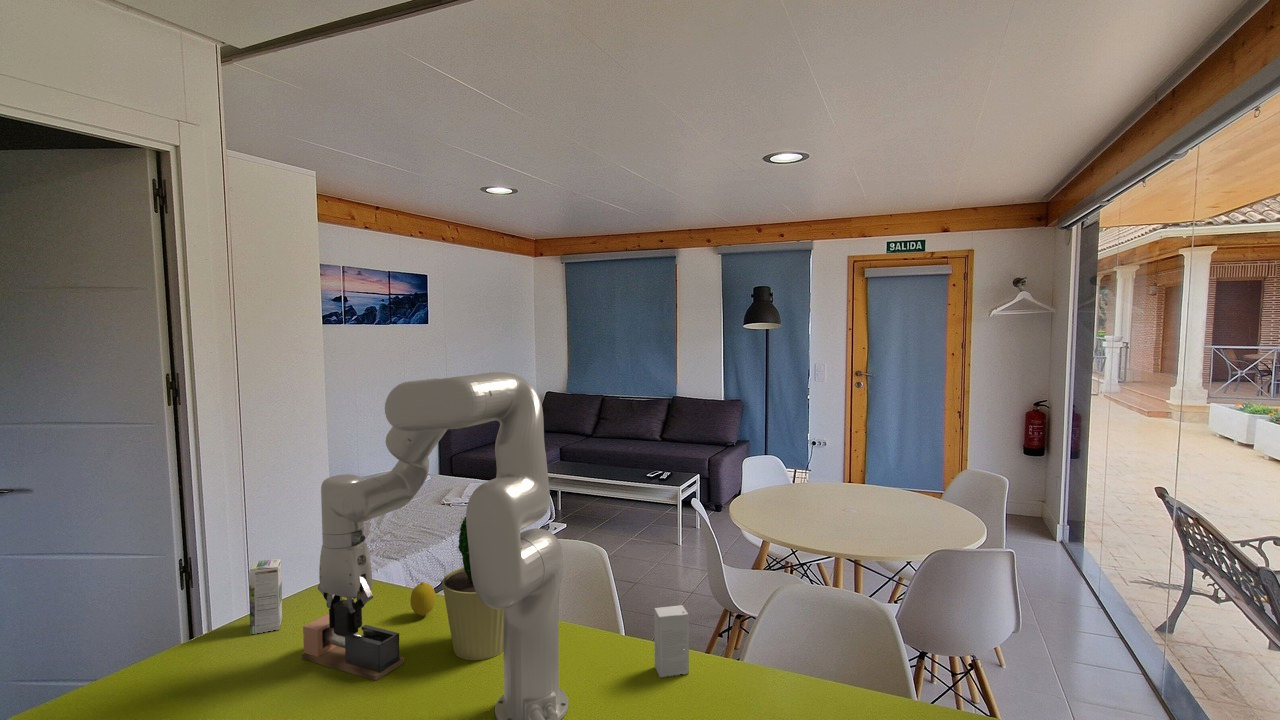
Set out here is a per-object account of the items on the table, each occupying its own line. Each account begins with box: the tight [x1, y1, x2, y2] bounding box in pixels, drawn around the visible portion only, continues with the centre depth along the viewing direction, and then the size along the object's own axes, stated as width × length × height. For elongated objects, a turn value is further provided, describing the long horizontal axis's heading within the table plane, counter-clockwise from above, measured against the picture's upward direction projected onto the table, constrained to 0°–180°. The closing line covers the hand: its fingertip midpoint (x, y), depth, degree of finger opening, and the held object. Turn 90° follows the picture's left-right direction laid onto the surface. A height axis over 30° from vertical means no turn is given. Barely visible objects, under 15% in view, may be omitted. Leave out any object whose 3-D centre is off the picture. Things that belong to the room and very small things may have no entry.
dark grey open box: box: [345, 624, 401, 673], centre depth 123 cm, size 9×5×6 cm, turn 67°
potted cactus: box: [441, 516, 504, 661], centre depth 130 cm, size 15×15×30 cm
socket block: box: [302, 613, 337, 657], centre depth 129 cm, size 4×6×6 cm, turn 157°
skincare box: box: [653, 604, 690, 678], centre depth 122 cm, size 6×4×12 cm
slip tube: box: [322, 598, 365, 648], centre depth 127 cm, size 11×3×9 cm, turn 67°
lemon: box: [409, 581, 437, 617], centre depth 145 cm, size 6×6×8 cm
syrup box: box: [248, 558, 283, 636], centre depth 139 cm, size 6×6×14 cm
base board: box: [301, 646, 404, 681], centre depth 126 cm, size 20×7×1 cm, turn 67°
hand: (345, 626), depth 126 cm, fingers closed on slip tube, 4 cm apart
